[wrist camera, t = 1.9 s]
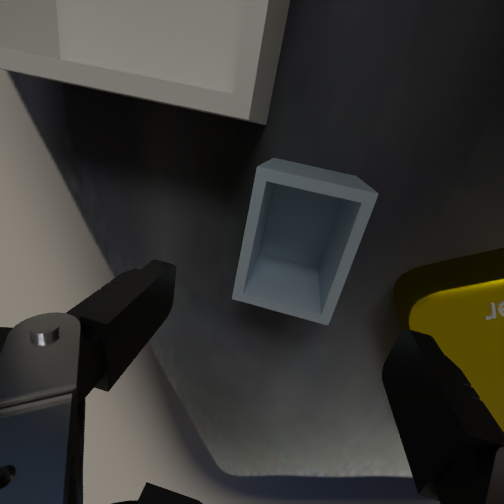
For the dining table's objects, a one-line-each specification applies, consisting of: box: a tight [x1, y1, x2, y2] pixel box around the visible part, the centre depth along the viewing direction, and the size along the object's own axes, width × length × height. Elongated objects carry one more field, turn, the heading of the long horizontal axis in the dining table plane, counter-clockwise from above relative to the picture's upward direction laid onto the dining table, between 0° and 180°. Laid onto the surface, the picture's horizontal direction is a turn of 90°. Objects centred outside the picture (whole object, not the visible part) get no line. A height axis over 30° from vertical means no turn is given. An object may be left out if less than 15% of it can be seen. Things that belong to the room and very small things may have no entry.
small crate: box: [232, 158, 378, 325], centre depth 18 cm, size 6×8×7 cm
